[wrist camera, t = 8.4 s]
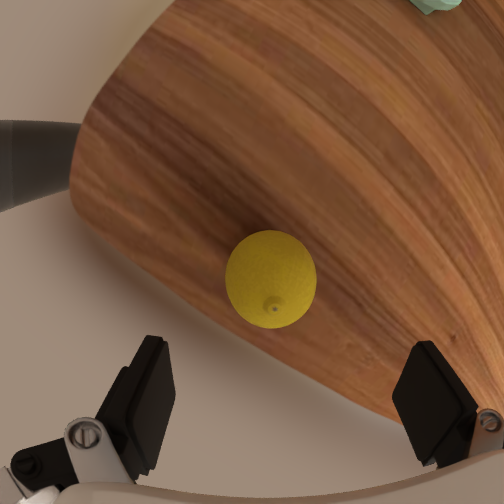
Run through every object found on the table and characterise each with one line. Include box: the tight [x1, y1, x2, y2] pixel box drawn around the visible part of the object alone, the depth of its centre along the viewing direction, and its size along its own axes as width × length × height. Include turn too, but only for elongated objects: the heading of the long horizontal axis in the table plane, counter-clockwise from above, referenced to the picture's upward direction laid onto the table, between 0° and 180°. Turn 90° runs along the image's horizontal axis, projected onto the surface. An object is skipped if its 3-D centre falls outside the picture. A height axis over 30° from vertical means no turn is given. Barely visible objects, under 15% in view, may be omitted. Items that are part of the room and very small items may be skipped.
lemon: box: [225, 230, 317, 328], centre depth 18 cm, size 6×6×8 cm
